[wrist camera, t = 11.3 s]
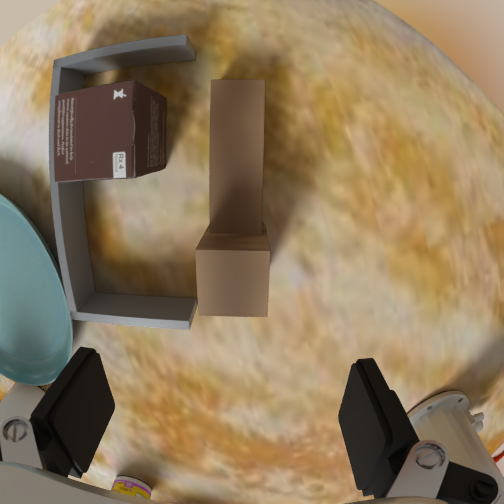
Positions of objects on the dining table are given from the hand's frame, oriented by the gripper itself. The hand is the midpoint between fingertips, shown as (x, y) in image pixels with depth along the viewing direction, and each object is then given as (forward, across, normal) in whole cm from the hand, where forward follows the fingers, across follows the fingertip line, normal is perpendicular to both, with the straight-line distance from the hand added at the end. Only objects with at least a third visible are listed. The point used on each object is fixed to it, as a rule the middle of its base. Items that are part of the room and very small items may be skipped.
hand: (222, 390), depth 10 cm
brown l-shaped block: (+16, 0, -5) cm, 17 cm away
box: (+16, +9, -10) cm, 21 cm away
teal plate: (+16, +28, +5) cm, 33 cm away
